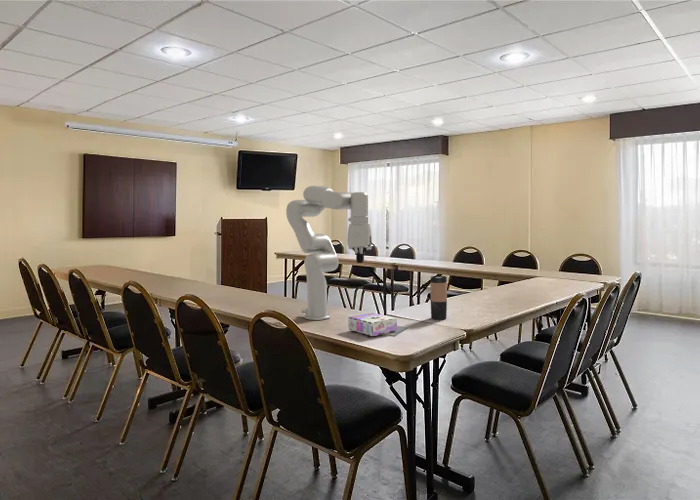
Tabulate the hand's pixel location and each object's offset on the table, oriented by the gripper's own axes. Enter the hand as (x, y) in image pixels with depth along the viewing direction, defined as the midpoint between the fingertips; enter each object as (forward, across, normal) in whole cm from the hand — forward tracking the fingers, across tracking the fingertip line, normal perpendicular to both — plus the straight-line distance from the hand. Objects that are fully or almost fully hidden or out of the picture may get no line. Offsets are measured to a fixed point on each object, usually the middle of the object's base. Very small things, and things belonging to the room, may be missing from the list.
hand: (360, 262), depth 218 cm
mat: (+29, +11, 0) cm, 31 cm away
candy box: (+26, 0, -1) cm, 26 cm away
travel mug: (+29, +26, +32) cm, 51 cm away
